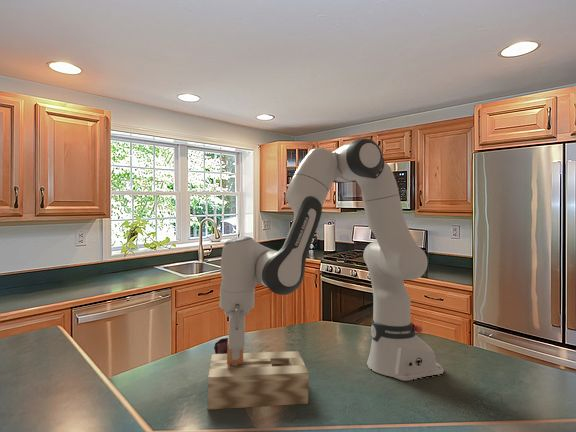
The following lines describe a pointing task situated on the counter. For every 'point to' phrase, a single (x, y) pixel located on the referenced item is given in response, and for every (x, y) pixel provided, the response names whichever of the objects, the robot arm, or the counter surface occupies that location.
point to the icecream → (221, 346)
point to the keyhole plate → (258, 380)
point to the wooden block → (229, 357)
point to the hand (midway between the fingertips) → (235, 354)
